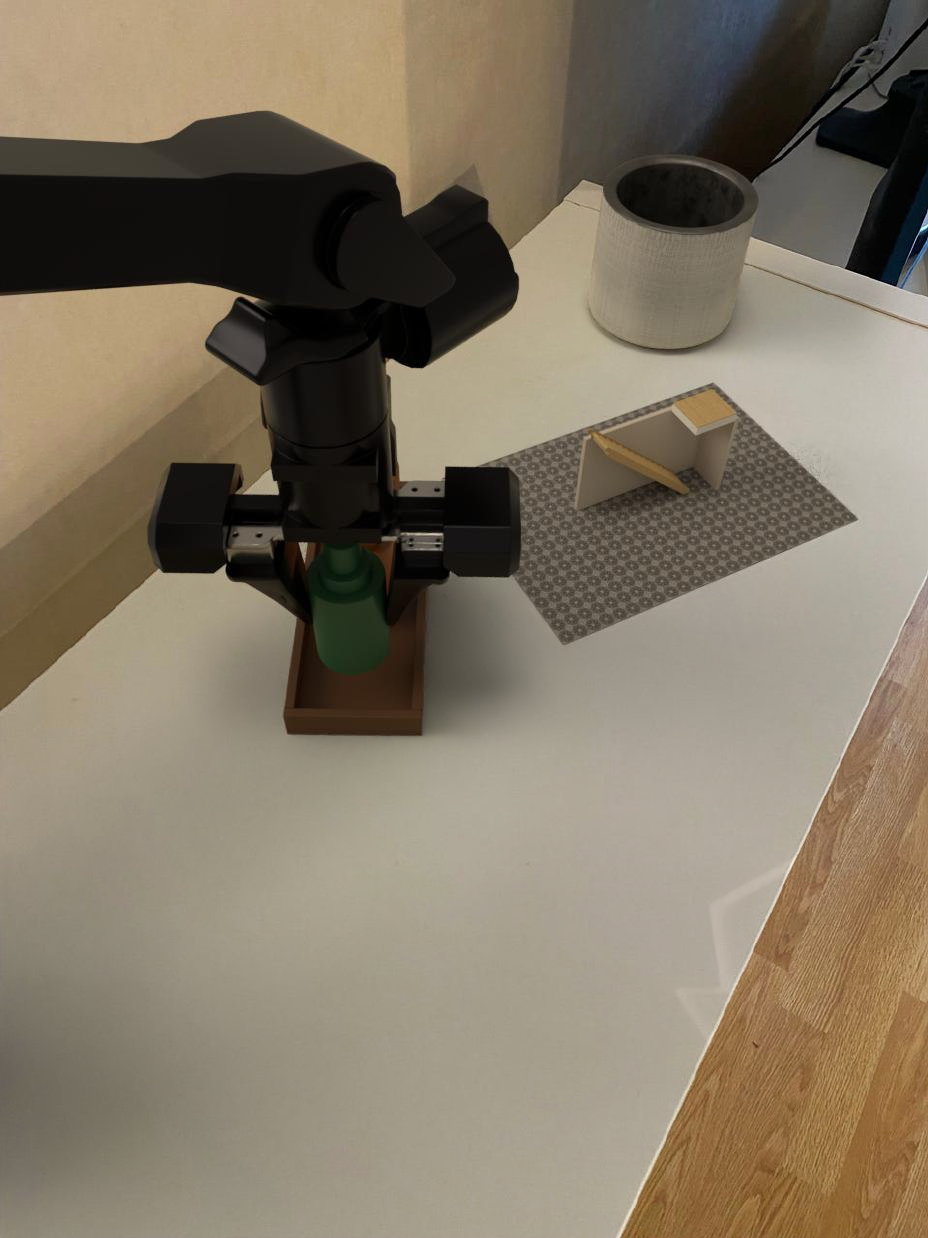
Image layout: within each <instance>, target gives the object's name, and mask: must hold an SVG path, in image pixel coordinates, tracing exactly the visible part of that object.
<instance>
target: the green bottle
mask: <svg viewBox="0 0 928 1238" xmlns="http://www.w3.org/2000/svg"><path fill="white" fill-rule="evenodd" d="M323 547H324V550H323V551H322V552H321V553H320V554H319V555H317V556H316V557H315V558H314V559H313V560H312V562H311V563H310V565H309V566H308V569H307V572H306V584H307V590H308V596H309V602H310V608H311V614H312V620H313V626H314V632H315V638H316V645H317V651H318V655H319V657H320V659H321V660H322V662H323V663H324V664H325V665H326V666H327V667H328V668H330V669H331V670H333V671H335V672H338V673H341V674H348V675H356V674H362V673H366V672H369V671H371V670H373V669H375V668H376V667H378V666H379V665H380V664H381V663H382V662H383V661H384V660H385V659H386V657H387V655H388V653H389V651H390V629H389V626H388V625H387V619H386V611H387V587H386V573H385V567H384V565H383V563H382V561H381V560H380V558H379V557H378V556H377V555H376V554H374V553H373V552H371V551H370V550H368V549H365V548H364V547H362V546H361V543H323Z"/></svg>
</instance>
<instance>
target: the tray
mask: <svg viewBox="0 0 928 1238" xmlns="http://www.w3.org/2000/svg"><path fill="white" fill-rule="evenodd" d="M409 481H410V480H400V488H401V487H402V486H403V485H404V484H405V483H407V482H409ZM323 550H324V547H323V543H306V550H305V559H304V564H305V567H306V571H307V569H308V566H309V565H310V563H311V562H312V560H313V559H314V558H315V557H316V556H317V555H319V554H320V553H321V552H322V551H323ZM428 591H429V587H428V588H427V589H425V590H424V591H423V592H422V593H421V594H420V595H419V596H418V597H416V598H415V599H414V600H413V601H412V602H411V603H410V605H409V606H408V607H407V609H406V610H405V611H404V613H403V614H402V616H401V617H400V618H399V620H398V621H397V623H396V624H395V625H394V626H389V629H390V651H389V653H388V655H387V657H386V659H385V660H384V661H383V662H382V663H381V664H380V665H379V666H378V667H376V668H375V669H373V670H371V671H369V672H366V673H362V674H356V675H348V674H341V673H338V672H335V671H333V670H331V669H330V668H328V667H327V666H326V665H325V664H324V663H323V662H322V660H321V659H320V657H319V655H318V651H317V645H316V638H315V632H314V626H313V624H312V625H306V624H305V623H303V622H302V621H301V620H299V619H298V618H297V617H296V622H295V629H294V635H293V644H292V649H291V651H292V652H291V658H290V664H289V671H288V676H287V677H288V679H287V684H286V691H285V692H286V693H285V699H284V708H283V713H282V718H283V721H284V726H285V730H286V731H285V732H286V735H331V736H332V735H337V736H338V735H341V736H343V735H344V736H345V735H346V736H349V735H350V736H351V735H352V736H418V737H419V736H420V737H421V736H422V735H423V726H424V725H423V724H424V723H423V721H424V699H425V698H424V695H425V674H426V673H425V672H426V671H425V669H426V667H425V666H426V645H427V644H426V643H427V623H428V622H427V619H428V618H427V616H428V615H427V614H428V595H429V594H428V593H429V592H428Z"/></svg>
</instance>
